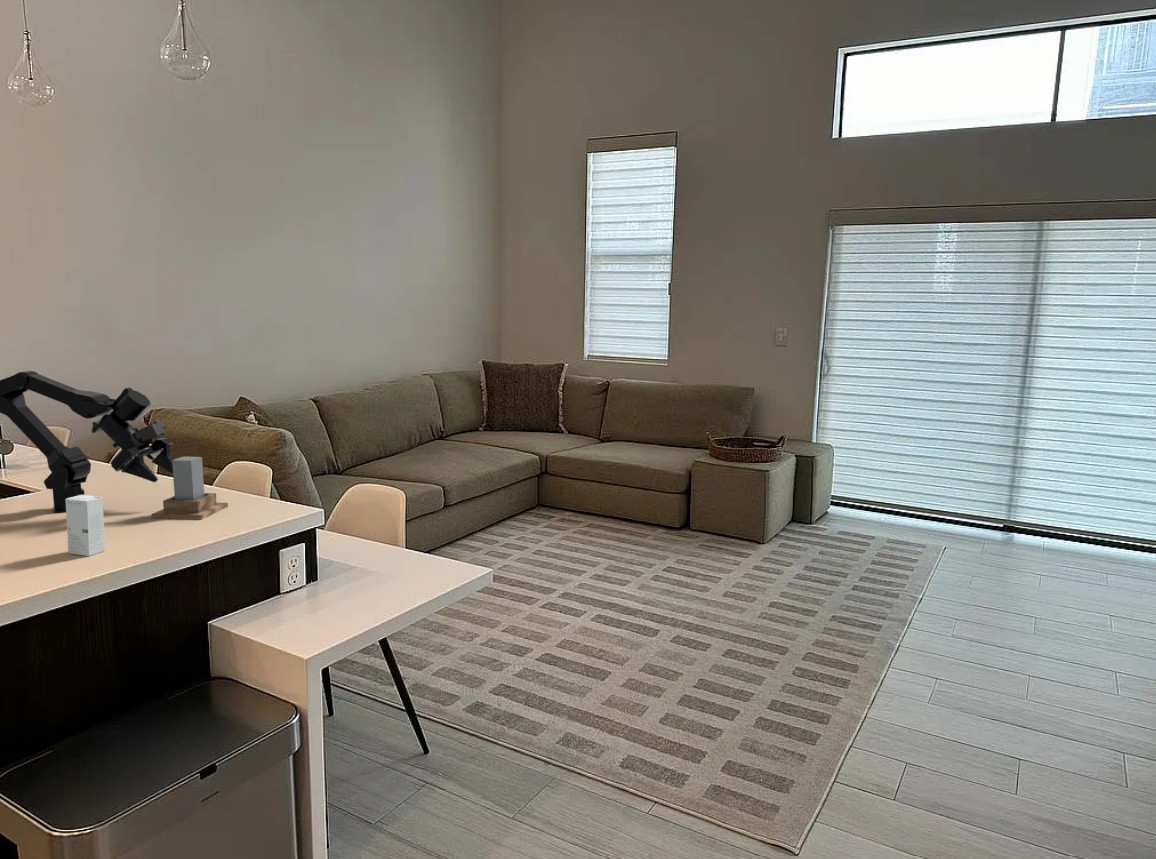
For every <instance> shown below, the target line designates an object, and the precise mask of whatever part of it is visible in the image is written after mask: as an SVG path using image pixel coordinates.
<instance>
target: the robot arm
mask: <svg viewBox="0 0 1156 859" xmlns="http://www.w3.org/2000/svg"><path fill="white" fill-rule="evenodd" d="M28 391H31V392H34V393H36V394H38V395H42V396H44V397H46V398H48V399H50V400H54V401H56V402H59V403H62V404H64V405H66V406H68V407H69V408H70V410H71V411H72V412H73V413H75V414H77V415H78V416H80V417H82V418H84V419H87V420H89V419H94V418H99V417H101V418H100V419H99V420H97V421H93V422H92V428H91V433H93V434H95V433H101V432H103V433H104V434H106V436H107V437H108V438H109V439H110V440H111V441H113V444H112V447H113V448H115V449H117V448H120V451H119V452H118V453H117V454H116V455H115V456H114V457H113V458H112V459H111V460H110V467H111V468H113V470H114V471H115V472H120V471H121V473H125V474H128V475H132V476H136V477H138V478H142V479H143V480H146V481H149V482H152V483H156V482H157V481H158V480H159V479H158V477H157V475H155V473H154V472H153V471H152V470H151V468H150V467H149V466H148V464H146V463H145V458H144V457H146V458H148V460H151V463H153V464H154V465H156V466H158V467H159V468H161V469H163V470H165V471H167V472H168V473H170V474H172V475H173V465H172V460H173V458H172V456H171V450H172V447H173V446H172V445H174V442H173V441H172V439H171V438H169V437H161V438H157V437H160V436H163V435H165V434H167V432H166V429H167V425H166V424H164V422H162V421H160V419H158V420H154V421H153V422H150V424H149V425H147V426H145V427H143V428H141V427H134V426H133V425H131V423H130V421H131V422H134V421H136V420H137V419H138V418H140V416H141V415H142V414H143V412H145V411H146V409H148V408H149V406H150V405H151V401H150V399H149V398H148V396H146V395H145V394H143V393H141V392H140V391H137V390H134V389H133V388H132V387H125V388H124V389H122V391H121V394H120V395H118V396H117V398H116V399H115V398H110V397H109V395H107V394H105V393H102V392H96V391H91V390H89V391H88V390H82V389H77V388H75V387H72V386H70V385H67V384H64V383H62V382H59V381H57V380H54V379H51V378H49V377H47V376H44V375H42V374H39V373H38V372H37V371H35V370H34V371H33V370H27V371H25V370H24V371H19V372H17V373H15V374H13V375H12V376H11V375H10V376H8V377H5V378H3V379H1V380H0V414H2V415H5V416H6V417H7V418H8V419H10V421H11V422H12V423H13V424H14V425H15V426H16V427H17V428H18V429H19V431H21V432H22V433H23V434H24V435H25V436H26V438H28V440H29V441H31V443H32V444H33V445H34V446H35V447H36V448H37V449H38V450H39V451H40V452H41V453H42V454H43V456H45V458H46V460H47V467H48V469H49V471H50V472H51V473H49V475H48V476H47V477H46V478H45V480H44V481H43V484H44V486H45V489H46V490H52V499H53V506H52V507H53V513H63V512H66V499H67V498H70V497H74V496H78V495H86V494H85V489H84V488H82V485H81V484H83V483H87V478H88V476H89V474H90V473H91V470H92V469H91V466H92V464H91V462H90V460H89V458H90V457H89V456H87V455H86V454H85V453H84V452H83V451H82V449H81V448H80V447H79V446H74V447H69V446H66V445H65V444H64V443H62V441H61V440H60V439H59V438H58V437H57V436H56V435H55V434H54V433H53V432H52V430H50V429H49V428H48V426H46V424H44V422H42V421H41V419H40V418H39V417H38V416H37V415H36V414H35V413H34V412H33V411H32V410H31V409H30V408H29V407H28V406H27V404H26V399H25V395H24V393H27V392H28ZM155 438H157V439H155Z"/></svg>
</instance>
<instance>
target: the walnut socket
mask: <svg viewBox="0 0 1156 859" xmlns="http://www.w3.org/2000/svg"><path fill="white" fill-rule="evenodd" d="M204 496H205V497H203V498H200V499H198V500H196V501H194V500H175V495H174V496H171V497H169V498H167V499H163V501H162V505H163V509H160V510H158V511H155V512H153V513H151V519H168V518H183V519H182V520H204V519H206V518H208V517H210V516H212V515H214V514H216V513H218V512H219V510H220V511H222V510H224V509H225V507H226V508H228V507H229V503H228V502H217V493H215V492H214V493H213V492H212V493H211V492H204ZM221 509H222V510H221ZM217 511H218V512H217ZM215 512H216V513H215ZM213 513H214V514H213ZM211 514H212V515H211ZM209 515H210V516H209ZM207 516H208V517H207ZM205 517H206V518H205ZM203 518H204V519H203Z"/></svg>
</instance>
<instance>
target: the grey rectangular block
mask: <svg viewBox="0 0 1156 859" xmlns="http://www.w3.org/2000/svg"><path fill="white" fill-rule="evenodd" d="M172 465H173V474H172V476H173V494H174V496H175V500H194V501H196V500H198V499H200V498H203V497H205V496H204V493H205V484H204V482H205V481H204V467H203V457H202V456H181V457H177V458H175V459H172Z"/></svg>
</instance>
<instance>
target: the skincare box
mask: <svg viewBox="0 0 1156 859" xmlns="http://www.w3.org/2000/svg"><path fill="white" fill-rule="evenodd" d="M65 513H66V514H65V515H66V516H65V517H66V533H67V549H68V550H67V552H68V553H69V554H72V555H76V556H77V555H78V556H85V557H91V556H94V555H98V554H100V553H103V552H105V551H106V546H105V542H106V541H105V540H106V539H105V523H104V522H105V521H104V500H103V497H102V496H96V495H87V494H85V495H78V496H74V497H70V498H67V499H66V511H65Z"/></svg>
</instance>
